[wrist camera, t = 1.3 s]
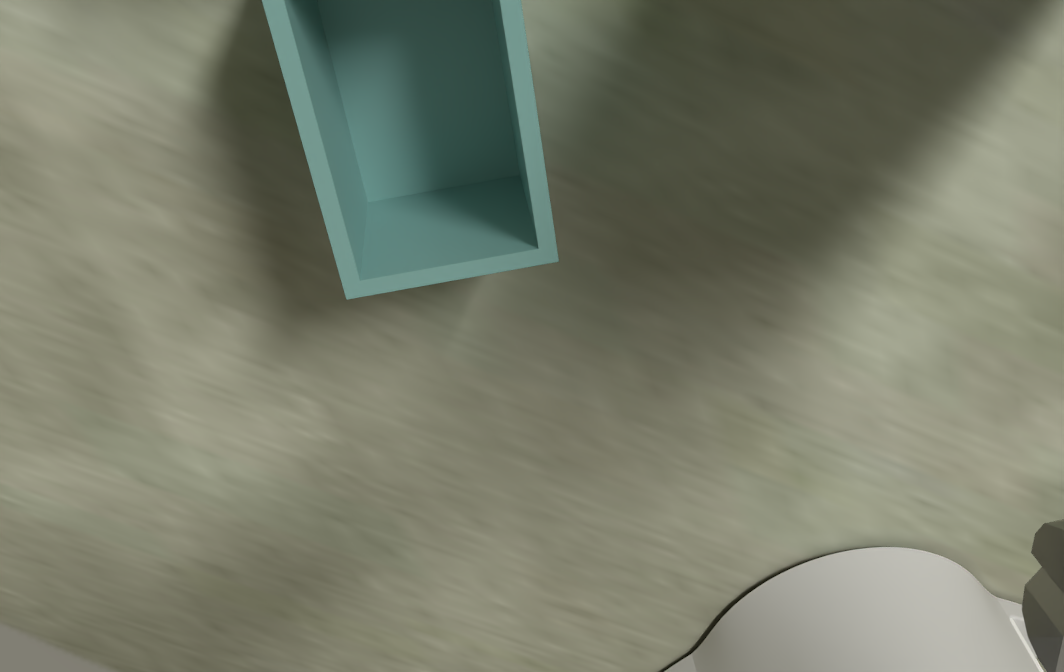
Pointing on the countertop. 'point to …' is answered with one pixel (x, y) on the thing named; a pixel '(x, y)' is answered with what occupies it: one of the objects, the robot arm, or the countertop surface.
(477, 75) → the small crate
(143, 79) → the countertop surface
